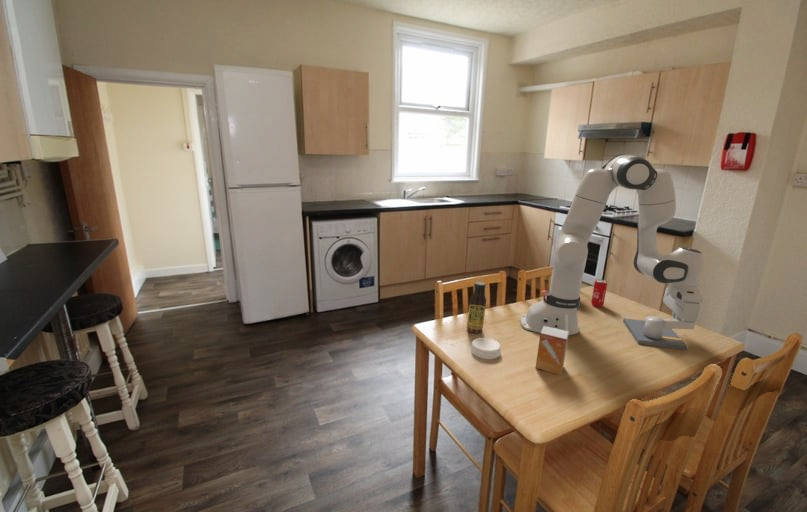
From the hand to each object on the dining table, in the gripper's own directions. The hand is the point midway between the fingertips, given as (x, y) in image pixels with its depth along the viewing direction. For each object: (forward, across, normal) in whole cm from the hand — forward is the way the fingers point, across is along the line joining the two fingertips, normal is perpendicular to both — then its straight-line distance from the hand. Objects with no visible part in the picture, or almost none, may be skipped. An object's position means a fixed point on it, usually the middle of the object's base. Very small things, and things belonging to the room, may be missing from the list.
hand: (675, 323), depth 148 cm
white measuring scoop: (+4, +3, -4) cm, 6 cm away
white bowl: (+5, +31, -71) cm, 77 cm away
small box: (+5, +36, -50) cm, 61 cm away
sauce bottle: (+4, +15, -75) cm, 77 cm away
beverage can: (+6, -27, -21) cm, 35 cm away
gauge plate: (+6, -1, -7) cm, 9 cm away
